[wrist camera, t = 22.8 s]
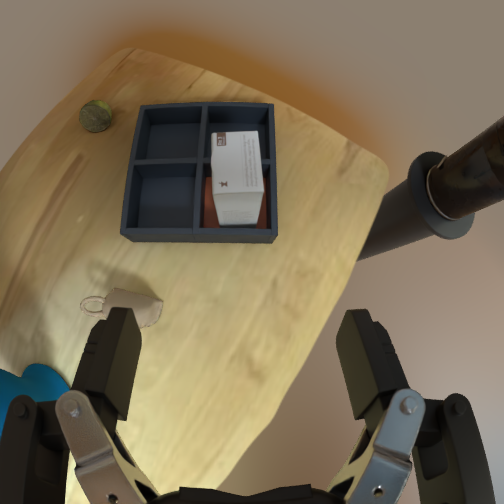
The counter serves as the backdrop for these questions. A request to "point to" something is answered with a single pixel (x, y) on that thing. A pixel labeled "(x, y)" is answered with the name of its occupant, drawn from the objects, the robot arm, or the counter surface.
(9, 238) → the counter surface
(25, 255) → the counter surface
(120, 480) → the robot arm
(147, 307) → the decorative ornament
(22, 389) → the vase
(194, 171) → the grid
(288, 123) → the counter surface
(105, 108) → the lime
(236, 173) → the cosmetic box
